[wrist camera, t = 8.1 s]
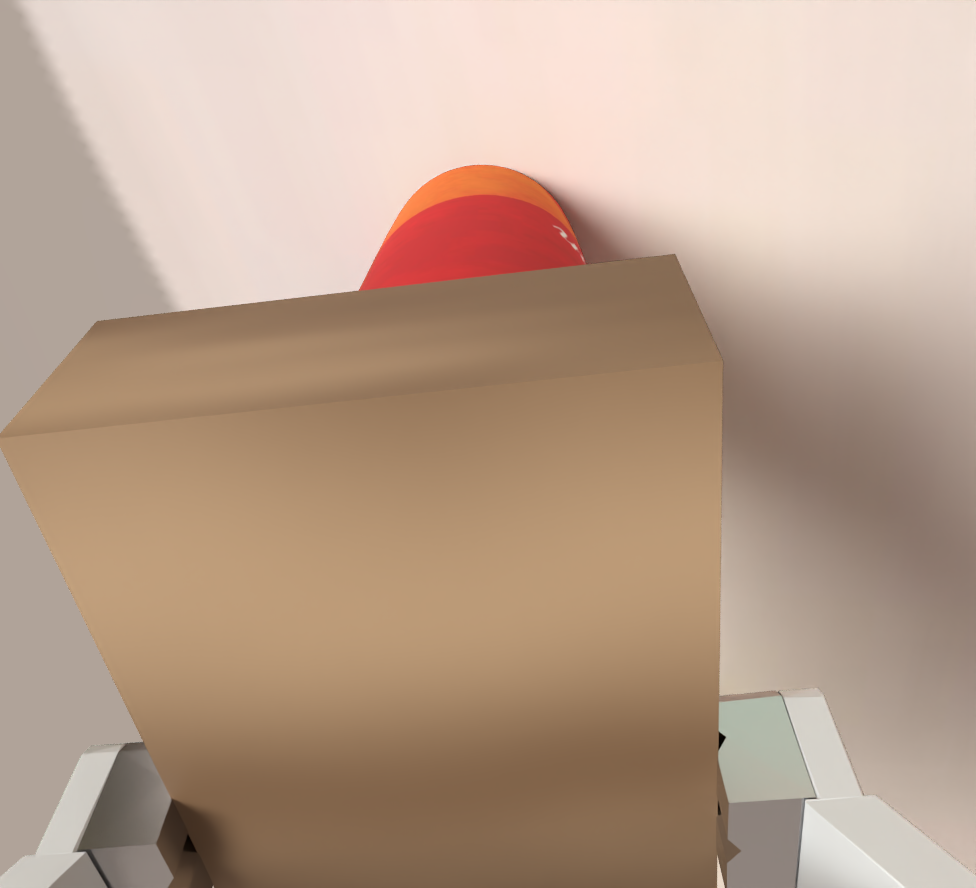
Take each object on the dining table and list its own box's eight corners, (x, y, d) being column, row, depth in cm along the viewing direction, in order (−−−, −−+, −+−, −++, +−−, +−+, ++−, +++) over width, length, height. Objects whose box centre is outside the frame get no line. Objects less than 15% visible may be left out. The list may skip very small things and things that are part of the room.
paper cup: (539, 402, 31) (562, 742, 19) (320, 311, 29) (194, 622, 17) (659, 190, 27) (783, 450, 15) (415, 72, 25) (337, 259, 13)
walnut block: (686, 895, 16) (714, 1049, 14) (327, 918, 17) (303, 1071, 15) (674, 254, 10) (723, 360, 8) (96, 320, 10) (-5, 438, 8)
